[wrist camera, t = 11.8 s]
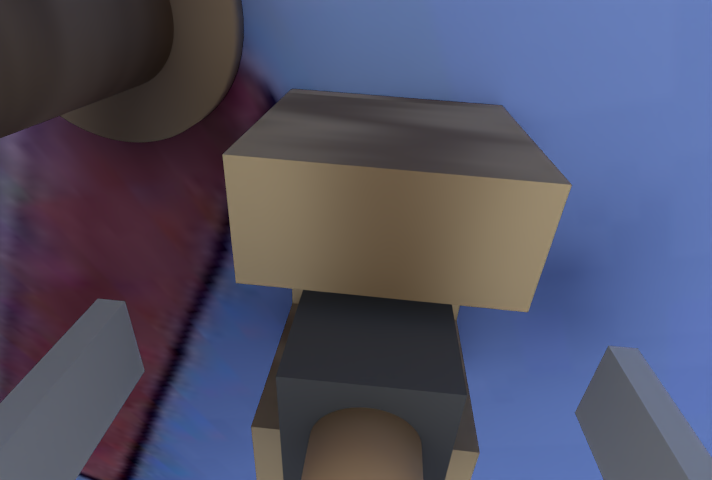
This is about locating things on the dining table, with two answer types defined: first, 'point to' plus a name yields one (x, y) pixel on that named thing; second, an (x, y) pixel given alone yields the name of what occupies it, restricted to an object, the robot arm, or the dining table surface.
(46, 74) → the bobbin
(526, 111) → the dining table surface
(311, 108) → the wooden u-shaped block
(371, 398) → the gray block with knob
